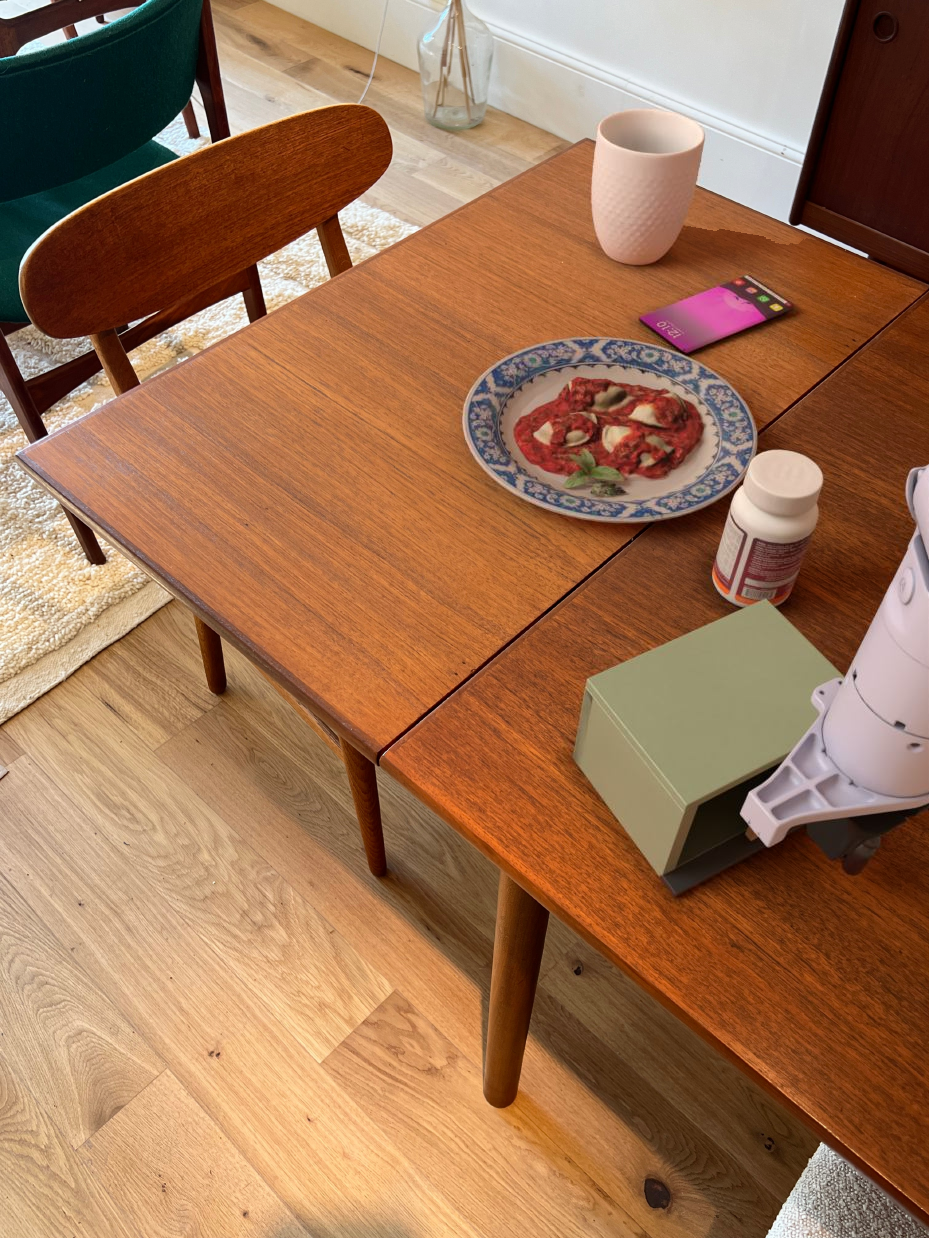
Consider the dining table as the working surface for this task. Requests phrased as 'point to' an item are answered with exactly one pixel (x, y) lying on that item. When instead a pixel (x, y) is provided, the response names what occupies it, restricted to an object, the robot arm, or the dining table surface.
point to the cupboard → (699, 737)
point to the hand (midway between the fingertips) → (828, 840)
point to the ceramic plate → (609, 429)
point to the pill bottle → (768, 529)
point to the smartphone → (716, 314)
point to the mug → (643, 182)
